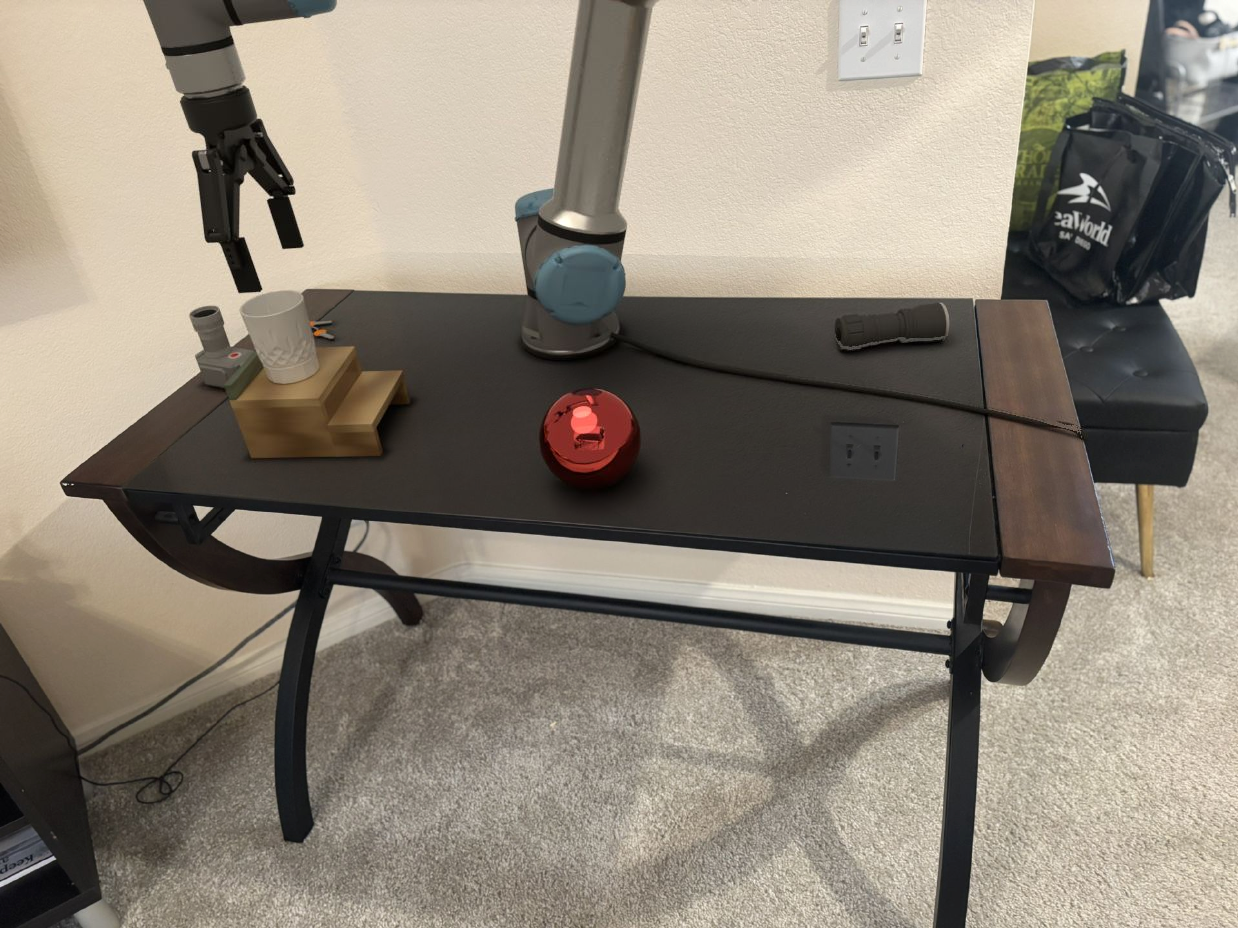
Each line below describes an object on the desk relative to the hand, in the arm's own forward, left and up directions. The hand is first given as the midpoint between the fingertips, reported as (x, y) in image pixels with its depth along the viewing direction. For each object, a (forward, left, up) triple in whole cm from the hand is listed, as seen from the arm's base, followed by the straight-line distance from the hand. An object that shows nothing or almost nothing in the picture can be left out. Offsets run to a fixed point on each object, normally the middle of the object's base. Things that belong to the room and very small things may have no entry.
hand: (273, 268), depth 113 cm
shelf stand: (-2, +1, -23) cm, 23 cm away
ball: (-40, +14, -23) cm, 48 cm away
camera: (+16, -12, -23) cm, 31 cm away
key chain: (+14, -29, -23) cm, 40 cm away
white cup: (+1, +1, -14) cm, 14 cm away
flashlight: (-80, -19, -23) cm, 85 cm away
